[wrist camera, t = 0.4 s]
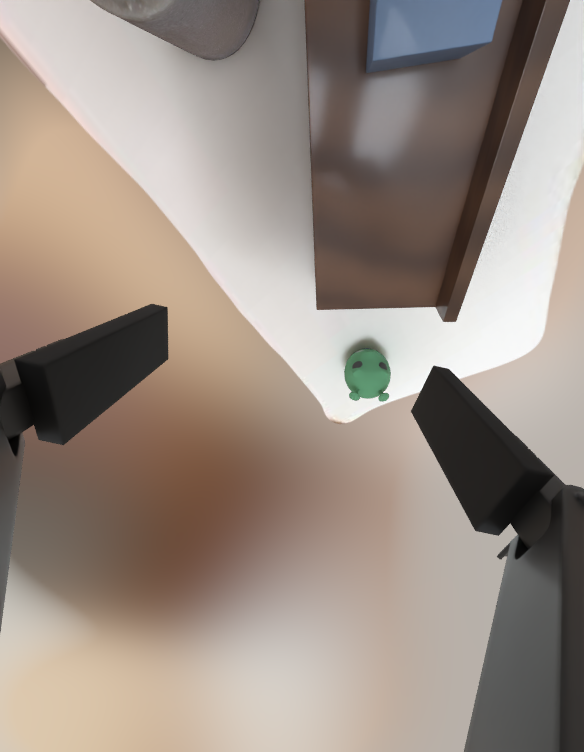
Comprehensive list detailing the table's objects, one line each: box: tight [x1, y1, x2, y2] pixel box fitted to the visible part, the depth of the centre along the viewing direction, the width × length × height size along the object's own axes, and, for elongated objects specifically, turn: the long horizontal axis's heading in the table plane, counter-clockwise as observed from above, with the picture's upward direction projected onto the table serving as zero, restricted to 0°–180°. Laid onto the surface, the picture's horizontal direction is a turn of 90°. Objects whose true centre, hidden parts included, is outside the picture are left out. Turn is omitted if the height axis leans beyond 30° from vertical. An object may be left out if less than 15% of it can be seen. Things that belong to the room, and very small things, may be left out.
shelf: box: [305, 0, 570, 322], centre depth 24 cm, size 26×14×12 cm, turn 5°
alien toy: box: [344, 349, 391, 401], centre depth 42 cm, size 7×8×10 cm
